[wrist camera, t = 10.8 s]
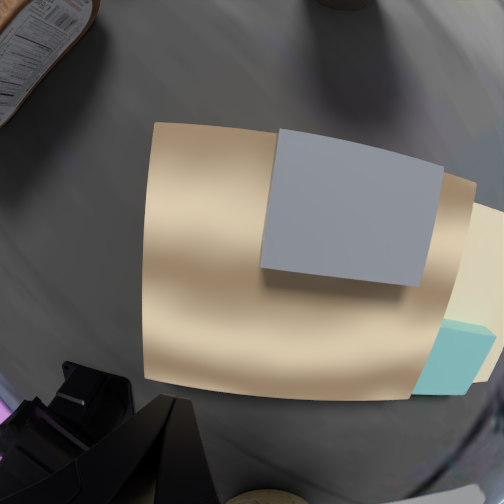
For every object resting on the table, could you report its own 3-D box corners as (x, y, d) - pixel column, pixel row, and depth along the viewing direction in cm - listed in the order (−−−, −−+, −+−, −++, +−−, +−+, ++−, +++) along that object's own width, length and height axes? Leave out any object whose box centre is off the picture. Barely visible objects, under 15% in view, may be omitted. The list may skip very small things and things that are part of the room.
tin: (105, -9, 15) (51, -61, 7) (123, 9, 15) (68, -47, 7) (-16, 128, 17) (-86, 128, 9) (-4, 152, 18) (-79, 157, 10)
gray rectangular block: (403, 274, 16) (418, 286, 14) (259, 255, 16) (259, 267, 14) (424, 166, 14) (444, 167, 12) (276, 133, 14) (279, 128, 12)
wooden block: (390, 368, 22) (408, 398, 18) (160, 346, 22) (144, 378, 18) (442, 178, 18) (476, 183, 14) (174, 130, 18) (154, 122, 14)
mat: (485, 379, 23) (487, 380, 23) (385, 387, 23) (386, 389, 22) (539, 225, 19) (541, 226, 18) (442, 193, 18) (444, 193, 18)
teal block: (454, 382, 22) (464, 394, 21) (388, 378, 22) (396, 393, 20) (484, 326, 21) (496, 336, 19) (419, 313, 21) (431, 325, 19)
